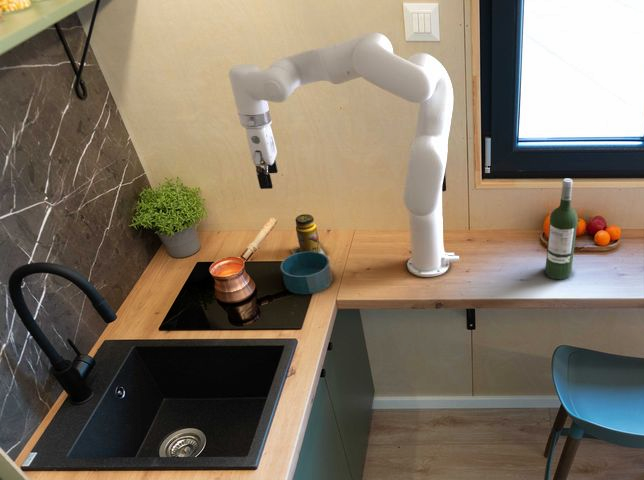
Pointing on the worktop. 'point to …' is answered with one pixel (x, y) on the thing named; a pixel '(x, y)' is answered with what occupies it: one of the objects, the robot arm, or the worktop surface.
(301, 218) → the condiment
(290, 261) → the bowl
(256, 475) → the worktop surface
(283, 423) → the worktop surface
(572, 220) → the wine bottle
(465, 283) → the worktop surface
